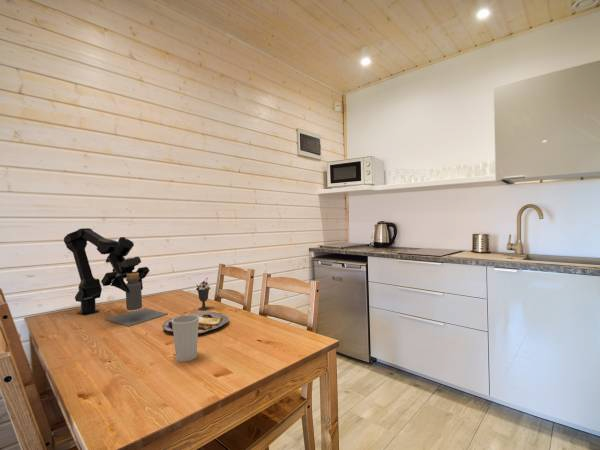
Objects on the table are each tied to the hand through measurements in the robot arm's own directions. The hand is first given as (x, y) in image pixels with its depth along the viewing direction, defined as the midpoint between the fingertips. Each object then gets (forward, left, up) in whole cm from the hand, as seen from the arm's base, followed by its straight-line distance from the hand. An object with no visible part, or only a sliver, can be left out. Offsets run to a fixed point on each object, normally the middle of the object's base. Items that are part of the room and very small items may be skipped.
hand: (135, 290), depth 128 cm
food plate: (+27, +9, -14) cm, 32 cm away
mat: (-6, +4, -13) cm, 15 cm away
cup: (+47, -12, -13) cm, 51 cm away
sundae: (+11, +27, -13) cm, 32 cm away
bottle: (-1, 0, -8) cm, 8 cm away
